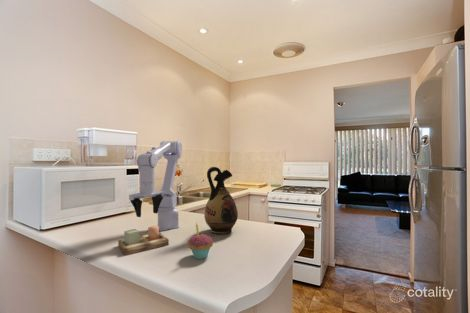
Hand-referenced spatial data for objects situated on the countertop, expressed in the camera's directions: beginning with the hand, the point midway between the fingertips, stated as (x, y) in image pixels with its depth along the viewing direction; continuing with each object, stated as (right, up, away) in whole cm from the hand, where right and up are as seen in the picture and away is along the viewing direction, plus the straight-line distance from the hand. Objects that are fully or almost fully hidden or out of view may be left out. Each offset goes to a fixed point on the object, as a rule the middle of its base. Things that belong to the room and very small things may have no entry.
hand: (147, 214), depth 96 cm
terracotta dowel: (+4, -9, -4) cm, 11 cm away
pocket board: (+1, -10, -6) cm, 12 cm away
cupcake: (+25, -10, -17) cm, 32 cm away
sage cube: (-3, -9, -8) cm, 13 cm away
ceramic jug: (+30, -11, +11) cm, 33 cm away
